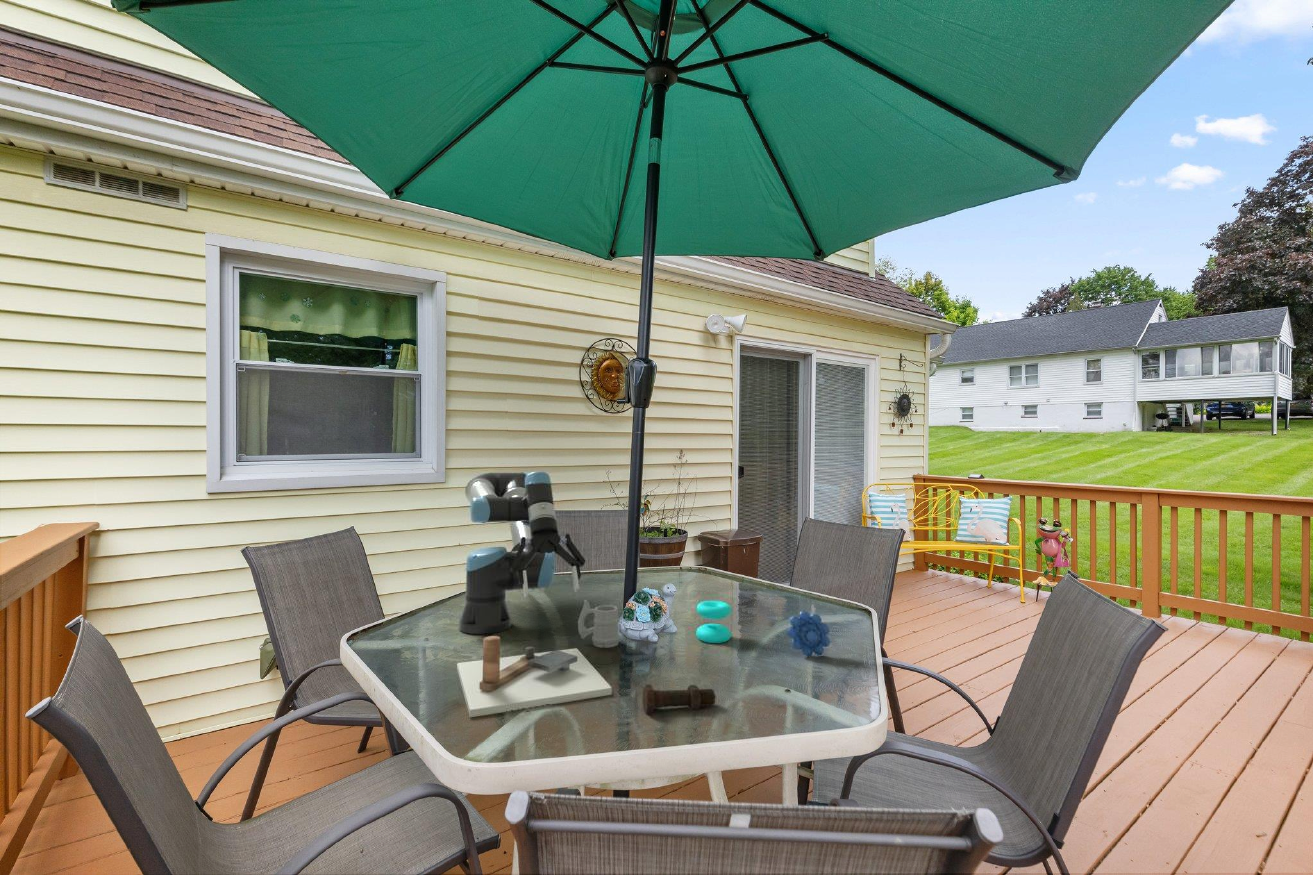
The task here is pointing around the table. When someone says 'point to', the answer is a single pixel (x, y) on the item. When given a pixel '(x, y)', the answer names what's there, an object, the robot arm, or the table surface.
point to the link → (492, 665)
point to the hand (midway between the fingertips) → (552, 593)
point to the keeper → (553, 661)
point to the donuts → (713, 631)
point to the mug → (600, 625)
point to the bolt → (676, 698)
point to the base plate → (531, 686)
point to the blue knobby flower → (808, 633)
